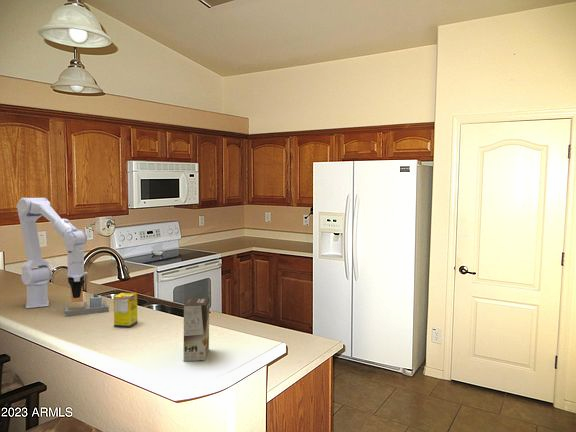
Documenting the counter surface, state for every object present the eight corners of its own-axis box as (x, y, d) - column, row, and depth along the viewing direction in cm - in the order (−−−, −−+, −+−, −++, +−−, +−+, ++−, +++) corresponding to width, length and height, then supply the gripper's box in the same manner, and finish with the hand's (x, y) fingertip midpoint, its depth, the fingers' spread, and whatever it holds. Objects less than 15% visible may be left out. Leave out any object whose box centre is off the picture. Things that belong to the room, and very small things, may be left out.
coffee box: (206, 361, 119) (206, 305, 118) (183, 361, 118) (183, 305, 117) (209, 349, 128) (209, 296, 127) (188, 349, 127) (188, 297, 126)
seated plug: (90, 308, 169) (89, 293, 169) (100, 307, 171) (100, 292, 170) (90, 311, 165) (90, 296, 165) (101, 309, 167) (101, 294, 167)
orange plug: (70, 300, 165) (70, 285, 165) (82, 299, 167) (82, 284, 167) (71, 302, 162) (71, 287, 161) (82, 301, 164) (82, 286, 163)
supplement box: (137, 322, 152) (137, 292, 151) (129, 328, 146) (129, 297, 145) (122, 321, 152) (121, 292, 152) (113, 327, 147) (113, 296, 146)
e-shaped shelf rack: (64, 309, 167) (64, 304, 167) (105, 304, 174) (105, 300, 174) (65, 316, 158) (65, 311, 157) (108, 311, 165) (108, 306, 165)
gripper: (88, 264, 159) (89, 299, 160) (85, 258, 172) (86, 291, 173) (67, 265, 156) (68, 301, 157) (66, 259, 168) (66, 293, 169)
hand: (76, 296), depth 164 cm, fingers closed on orange plug, 4 cm apart
